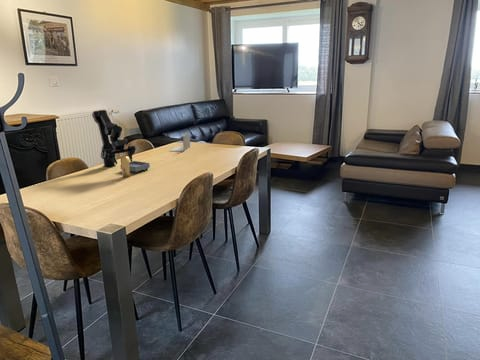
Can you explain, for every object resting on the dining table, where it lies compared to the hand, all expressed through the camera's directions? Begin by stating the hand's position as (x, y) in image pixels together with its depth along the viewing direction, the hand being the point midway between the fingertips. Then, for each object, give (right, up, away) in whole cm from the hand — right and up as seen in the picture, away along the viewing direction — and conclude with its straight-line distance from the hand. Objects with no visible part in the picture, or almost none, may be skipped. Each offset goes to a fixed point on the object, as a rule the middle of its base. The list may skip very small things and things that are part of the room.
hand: (124, 162), depth 223 cm
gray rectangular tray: (+2, -4, +16) cm, 16 cm away
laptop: (+21, +15, +80) cm, 84 cm away
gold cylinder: (+1, -9, +2) cm, 9 cm away
